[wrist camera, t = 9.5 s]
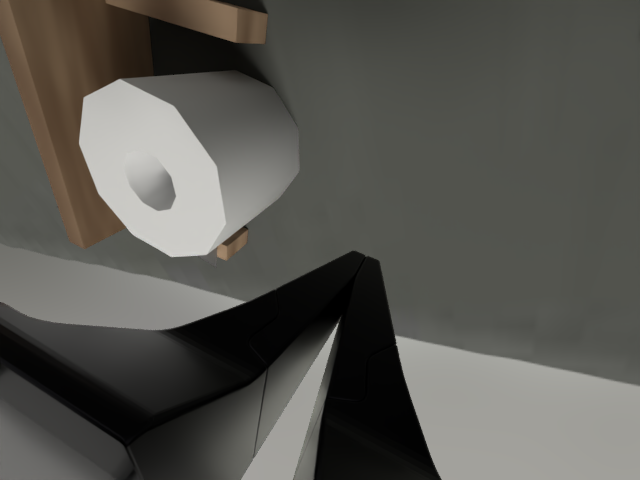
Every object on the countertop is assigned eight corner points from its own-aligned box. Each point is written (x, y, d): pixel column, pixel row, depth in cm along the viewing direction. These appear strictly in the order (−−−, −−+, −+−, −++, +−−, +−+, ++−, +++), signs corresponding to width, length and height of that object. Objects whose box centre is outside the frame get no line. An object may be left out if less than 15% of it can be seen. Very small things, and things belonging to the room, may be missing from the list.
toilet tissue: (213, 230, 29) (134, 285, 22) (181, 67, 22) (51, 74, 15) (300, 252, 26) (242, 323, 19) (297, 72, 19) (203, 84, 12)
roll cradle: (268, 14, 18) (159, -7, 11) (247, 242, 28) (182, 299, 21) (126, -26, 20) (-32, -62, 14) (153, 201, 30) (69, 241, 23)
